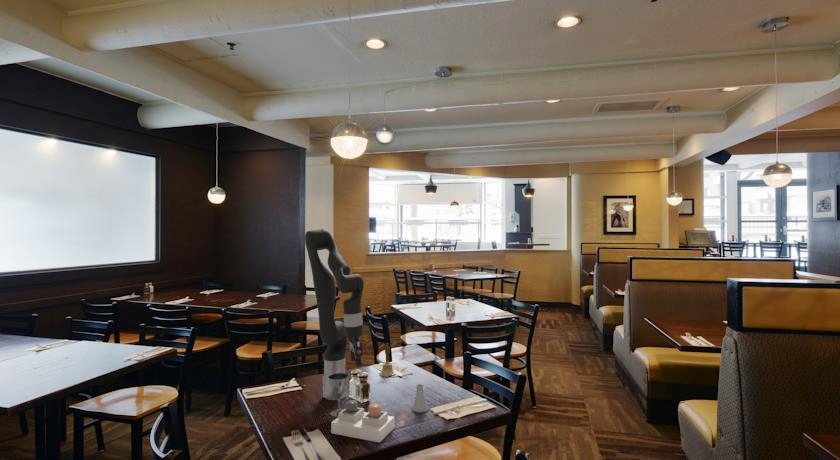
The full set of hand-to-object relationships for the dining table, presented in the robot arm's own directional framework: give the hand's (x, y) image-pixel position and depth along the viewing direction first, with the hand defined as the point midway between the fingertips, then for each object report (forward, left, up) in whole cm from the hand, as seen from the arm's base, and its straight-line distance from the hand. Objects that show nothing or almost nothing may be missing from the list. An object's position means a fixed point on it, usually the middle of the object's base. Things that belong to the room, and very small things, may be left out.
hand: (356, 363), depth 174 cm
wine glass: (-7, -2, -20) cm, 22 cm away
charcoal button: (+5, -12, -13) cm, 19 cm away
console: (+10, -12, -20) cm, 25 cm away
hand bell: (-9, +46, -20) cm, 51 cm away
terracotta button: (+15, -12, -13) cm, 23 cm away
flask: (+23, +12, -20) cm, 33 cm away
